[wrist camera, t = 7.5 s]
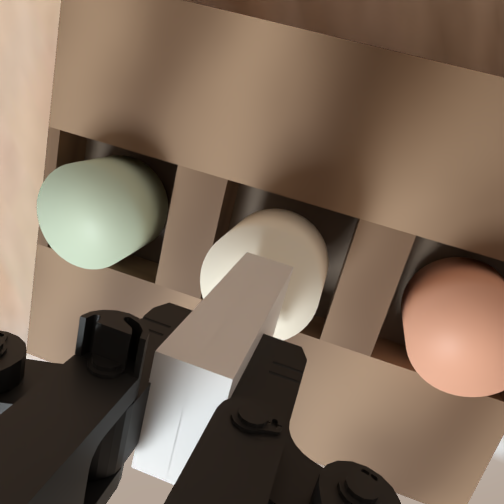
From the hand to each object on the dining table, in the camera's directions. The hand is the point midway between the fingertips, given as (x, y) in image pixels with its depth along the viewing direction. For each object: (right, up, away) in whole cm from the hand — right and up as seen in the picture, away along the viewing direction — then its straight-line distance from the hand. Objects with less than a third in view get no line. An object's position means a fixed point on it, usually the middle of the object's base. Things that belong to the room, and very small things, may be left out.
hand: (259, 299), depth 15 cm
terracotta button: (+8, -1, +3) cm, 8 cm away
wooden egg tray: (+1, +2, +6) cm, 7 cm away
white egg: (+1, +1, +3) cm, 4 cm away
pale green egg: (-6, +4, +6) cm, 9 cm away
